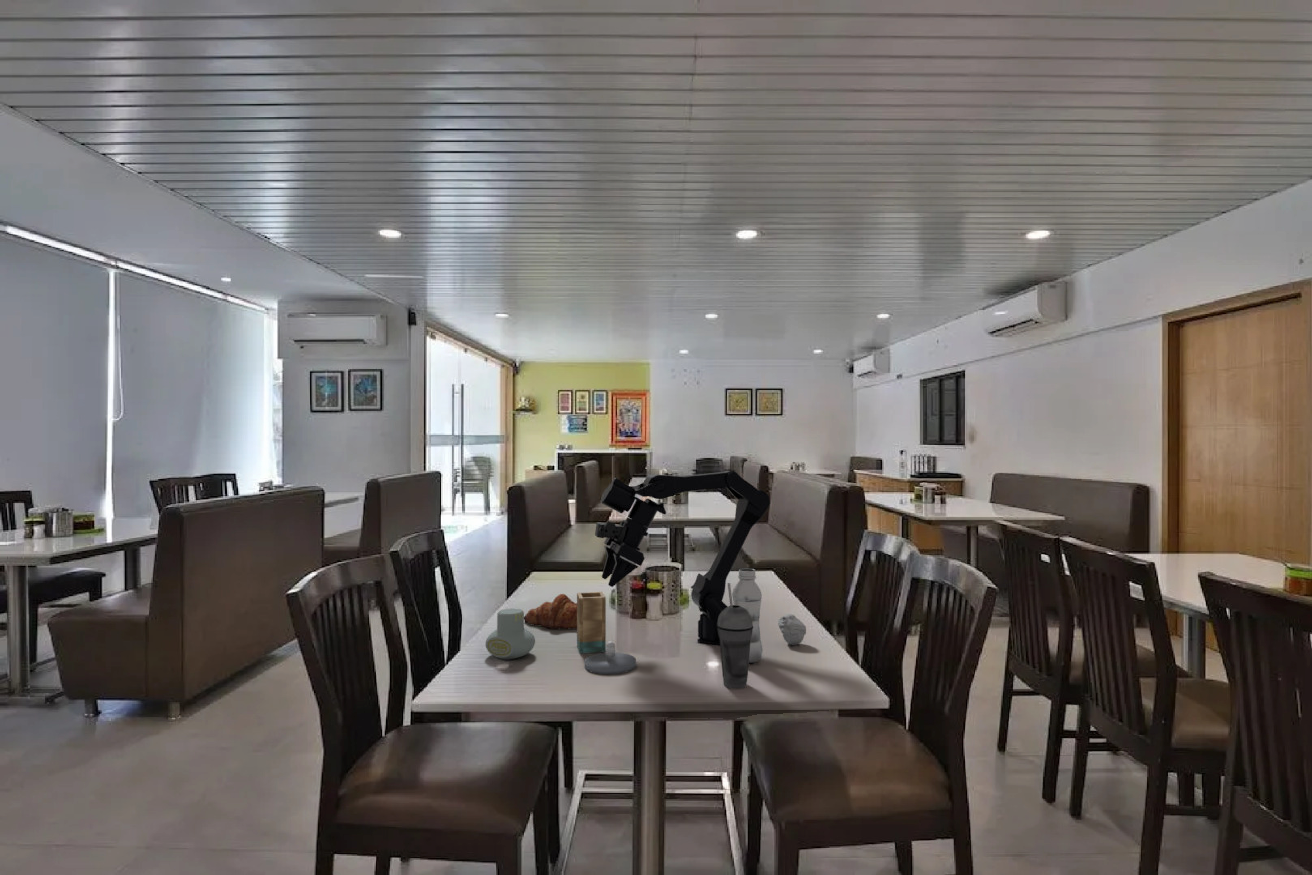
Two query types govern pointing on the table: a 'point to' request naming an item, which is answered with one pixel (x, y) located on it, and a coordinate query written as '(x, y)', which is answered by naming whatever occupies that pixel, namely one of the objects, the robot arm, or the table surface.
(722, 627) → the beverage cup
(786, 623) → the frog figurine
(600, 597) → the banded sleeve
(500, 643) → the air freshener
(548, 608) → the pastry
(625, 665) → the pin stand
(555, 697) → the table surface
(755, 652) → the plastic bottle
